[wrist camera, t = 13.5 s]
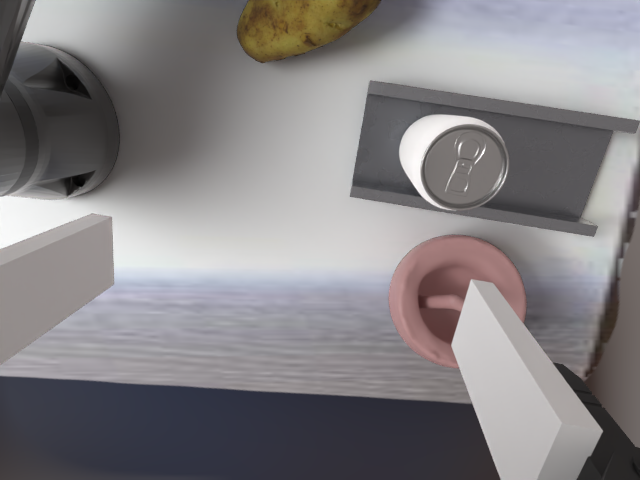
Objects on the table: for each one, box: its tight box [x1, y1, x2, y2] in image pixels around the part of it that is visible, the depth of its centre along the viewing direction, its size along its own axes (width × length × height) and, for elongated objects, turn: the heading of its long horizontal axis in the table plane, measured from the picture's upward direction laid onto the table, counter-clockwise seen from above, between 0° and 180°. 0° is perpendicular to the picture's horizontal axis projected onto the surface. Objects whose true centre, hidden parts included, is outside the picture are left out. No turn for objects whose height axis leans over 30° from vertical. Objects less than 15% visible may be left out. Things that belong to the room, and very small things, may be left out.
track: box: [350, 81, 640, 237], centre depth 36 cm, size 22×10×4 cm, turn 82°
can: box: [399, 114, 509, 210], centre depth 31 cm, size 6×6×12 cm
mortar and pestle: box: [389, 235, 527, 368], centre depth 36 cm, size 12×12×12 cm
